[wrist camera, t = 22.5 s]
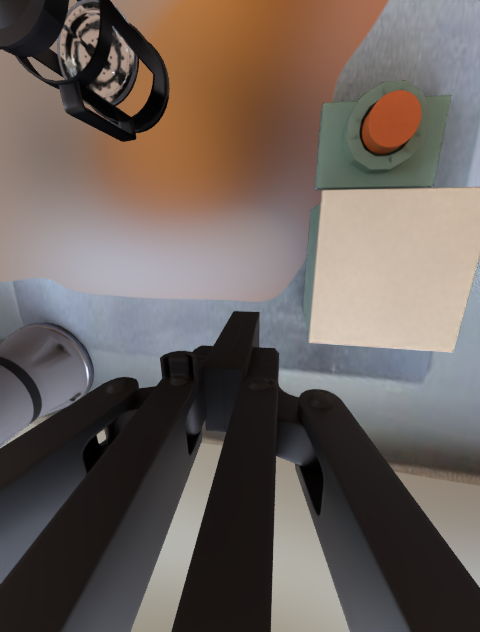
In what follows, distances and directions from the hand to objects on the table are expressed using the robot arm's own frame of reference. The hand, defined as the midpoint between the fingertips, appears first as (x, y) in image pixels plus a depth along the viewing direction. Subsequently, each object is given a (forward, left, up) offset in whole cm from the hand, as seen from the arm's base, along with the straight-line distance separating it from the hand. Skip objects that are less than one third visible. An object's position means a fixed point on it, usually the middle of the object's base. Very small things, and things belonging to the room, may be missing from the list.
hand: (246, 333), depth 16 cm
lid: (+11, +2, -11) cm, 16 cm away
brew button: (+11, +15, -18) cm, 26 cm away
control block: (+11, +14, -22) cm, 28 cm away
